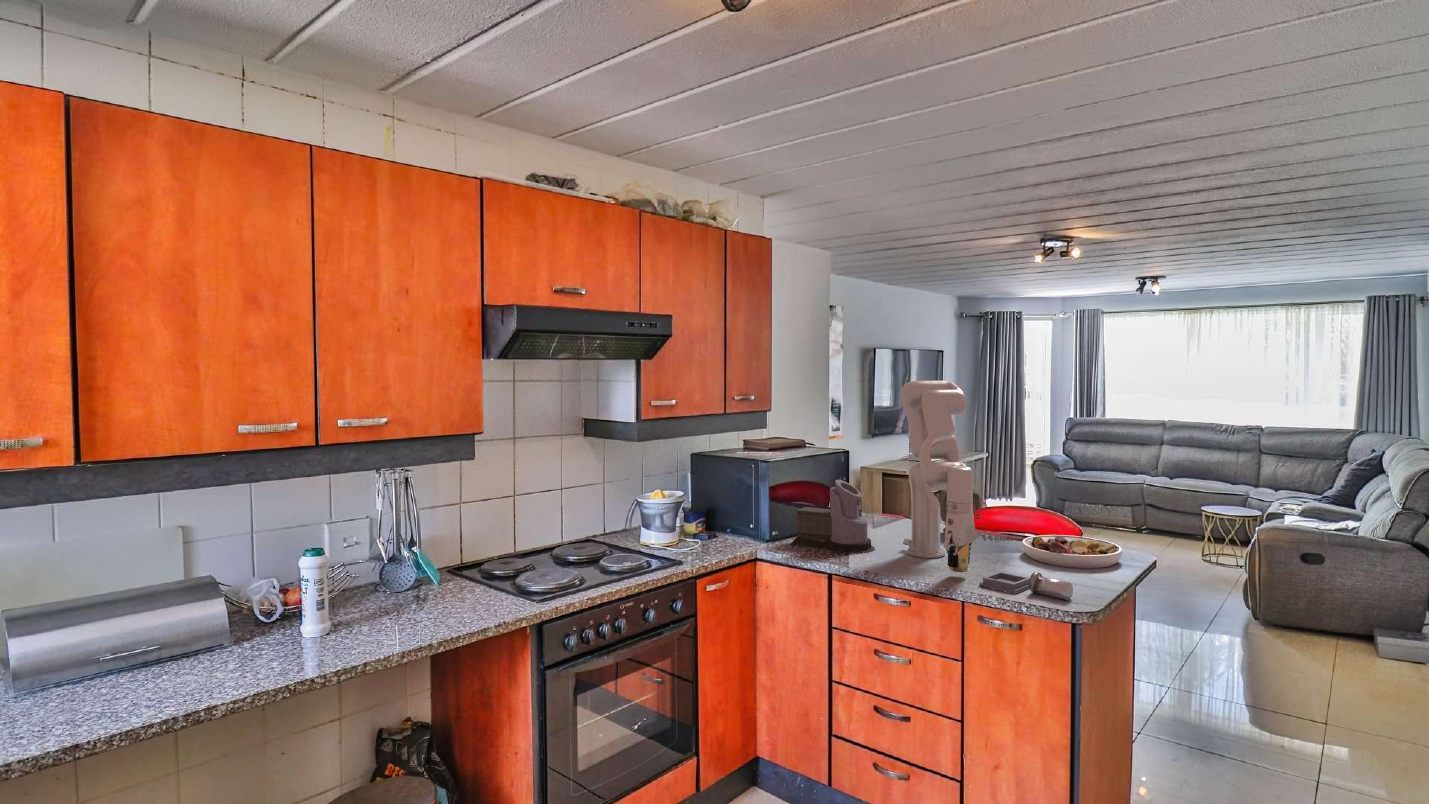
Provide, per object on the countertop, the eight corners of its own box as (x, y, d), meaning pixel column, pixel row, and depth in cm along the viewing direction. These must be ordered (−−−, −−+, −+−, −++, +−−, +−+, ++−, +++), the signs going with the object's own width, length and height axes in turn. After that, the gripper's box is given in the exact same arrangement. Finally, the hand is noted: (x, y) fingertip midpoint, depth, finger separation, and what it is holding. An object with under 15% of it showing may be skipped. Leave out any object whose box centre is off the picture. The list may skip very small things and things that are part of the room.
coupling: (945, 569, 228) (945, 543, 227) (955, 565, 231) (955, 540, 231) (961, 573, 223) (962, 547, 223) (971, 569, 227) (972, 543, 226)
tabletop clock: (976, 531, 291) (976, 468, 290) (983, 536, 282) (983, 471, 281) (939, 531, 292) (939, 468, 291) (944, 536, 283) (944, 471, 282)
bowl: (1041, 544, 269) (1041, 523, 269) (1133, 558, 249) (1133, 534, 248) (1008, 560, 248) (1008, 537, 247) (1106, 576, 227) (1106, 551, 227)
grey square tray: (979, 586, 218) (979, 577, 218) (998, 578, 225) (998, 570, 225) (1015, 594, 209) (1015, 585, 209) (1034, 586, 216) (1034, 578, 216)
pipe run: (1028, 594, 209) (1028, 573, 209) (1038, 590, 213) (1038, 570, 213) (1064, 602, 201) (1064, 581, 201) (1073, 597, 205) (1073, 577, 205)
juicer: (881, 546, 269) (881, 479, 268) (865, 555, 255) (864, 485, 254) (805, 537, 285) (805, 474, 284) (787, 546, 271) (786, 479, 270)
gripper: (955, 513, 217) (954, 573, 219) (985, 504, 229) (984, 562, 230) (932, 509, 223) (932, 568, 225) (963, 500, 234) (962, 557, 236)
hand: (958, 564), depth 227 cm, fingers closed on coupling, 5 cm apart
